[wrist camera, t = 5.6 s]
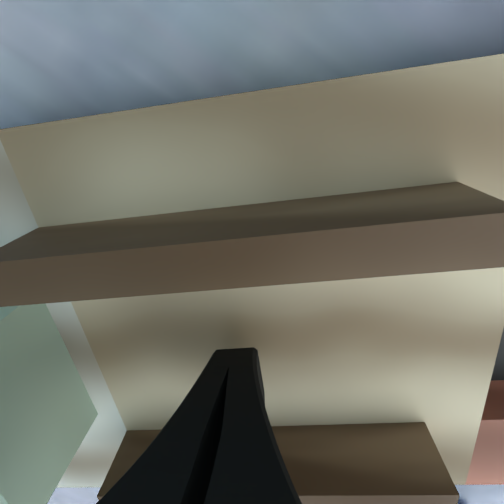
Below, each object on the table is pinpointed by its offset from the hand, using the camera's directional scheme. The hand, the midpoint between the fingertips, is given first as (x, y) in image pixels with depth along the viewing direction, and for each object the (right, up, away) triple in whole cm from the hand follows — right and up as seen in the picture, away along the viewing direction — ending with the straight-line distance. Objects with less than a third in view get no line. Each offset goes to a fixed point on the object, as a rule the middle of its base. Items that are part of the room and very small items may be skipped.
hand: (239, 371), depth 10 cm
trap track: (+2, +1, +2) cm, 4 cm away
